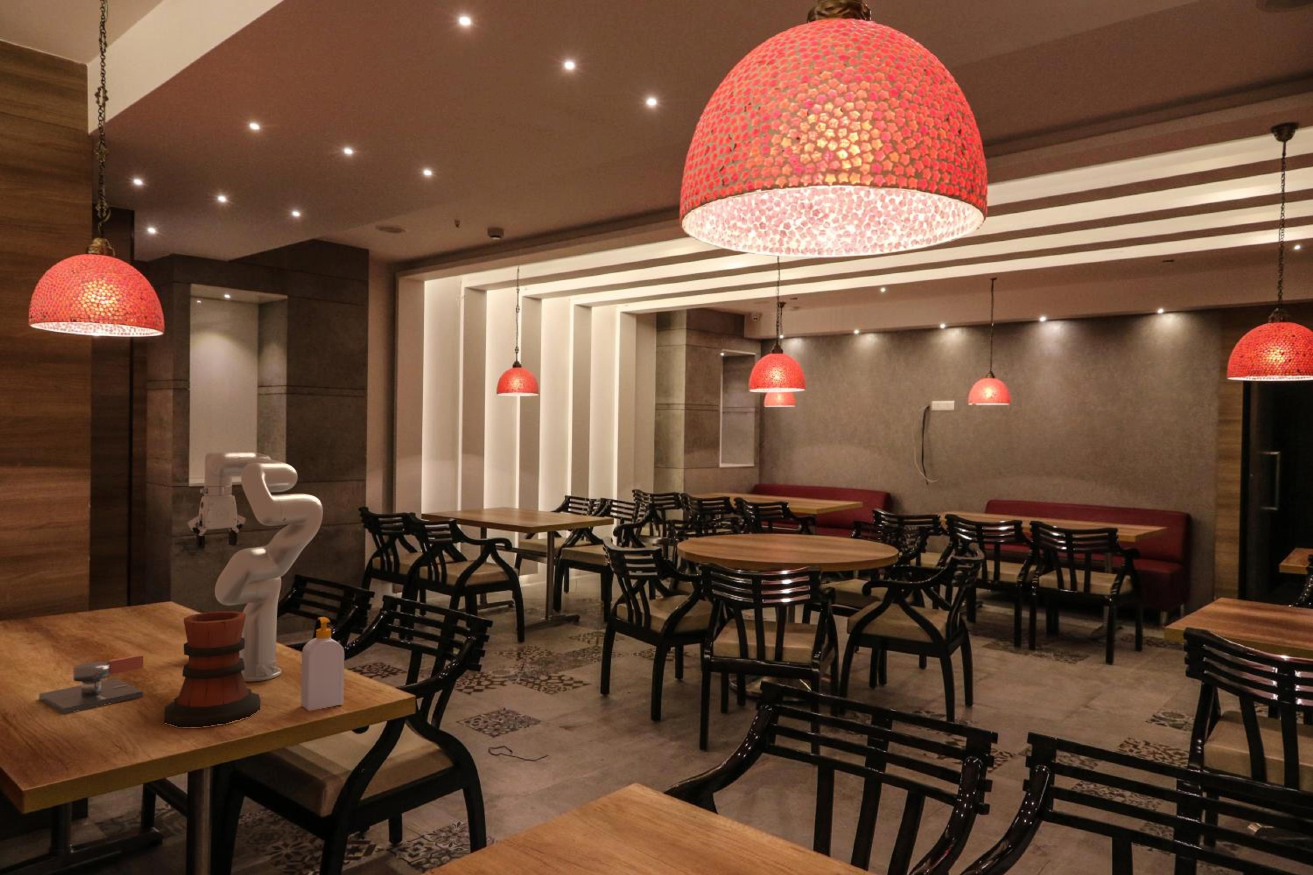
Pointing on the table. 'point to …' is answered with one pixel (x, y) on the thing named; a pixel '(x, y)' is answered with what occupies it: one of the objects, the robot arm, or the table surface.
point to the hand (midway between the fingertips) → (216, 546)
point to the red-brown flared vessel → (213, 673)
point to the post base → (90, 695)
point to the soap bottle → (322, 670)
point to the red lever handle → (106, 668)
